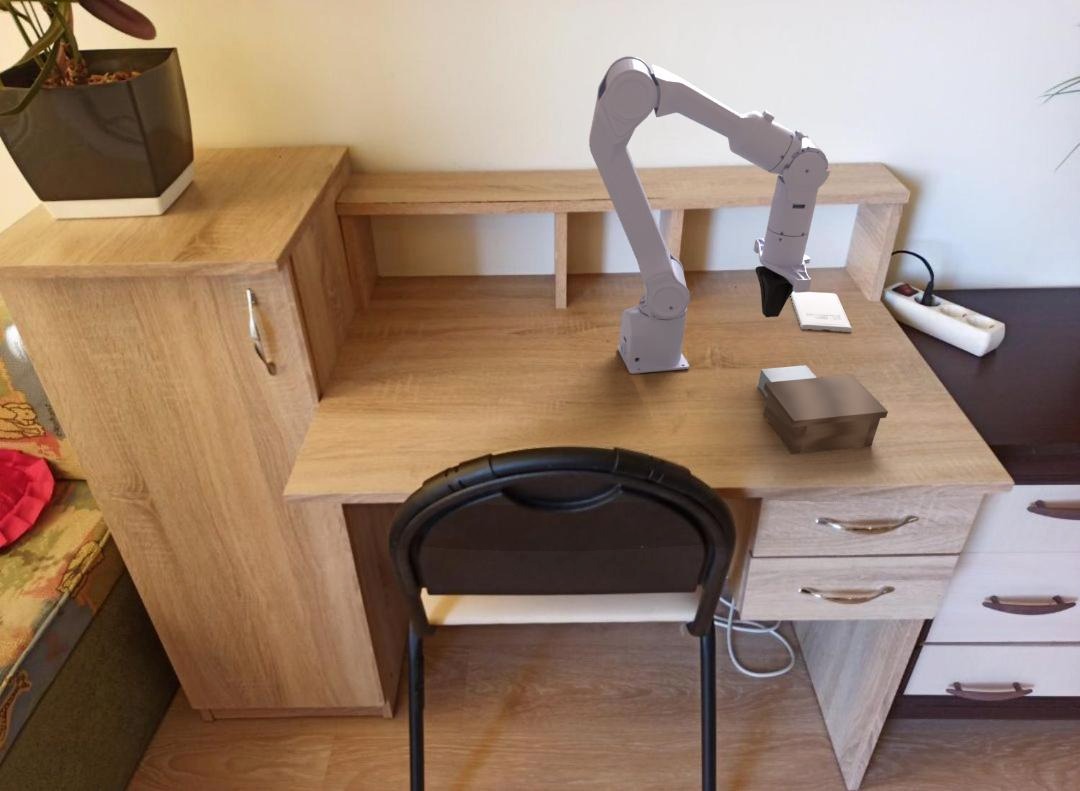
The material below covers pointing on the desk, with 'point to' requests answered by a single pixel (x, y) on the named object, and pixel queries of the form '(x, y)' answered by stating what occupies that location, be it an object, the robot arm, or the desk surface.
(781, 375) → the brushed metal plate
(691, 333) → the desk surface
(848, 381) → the brown lidded box
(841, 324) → the external hard drive
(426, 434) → the desk surface
